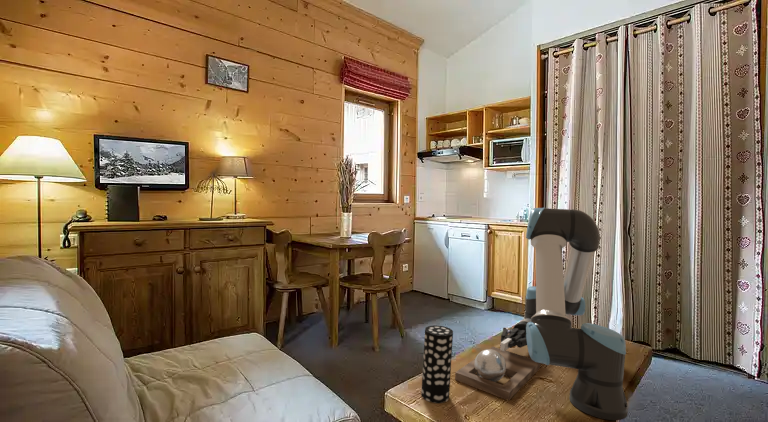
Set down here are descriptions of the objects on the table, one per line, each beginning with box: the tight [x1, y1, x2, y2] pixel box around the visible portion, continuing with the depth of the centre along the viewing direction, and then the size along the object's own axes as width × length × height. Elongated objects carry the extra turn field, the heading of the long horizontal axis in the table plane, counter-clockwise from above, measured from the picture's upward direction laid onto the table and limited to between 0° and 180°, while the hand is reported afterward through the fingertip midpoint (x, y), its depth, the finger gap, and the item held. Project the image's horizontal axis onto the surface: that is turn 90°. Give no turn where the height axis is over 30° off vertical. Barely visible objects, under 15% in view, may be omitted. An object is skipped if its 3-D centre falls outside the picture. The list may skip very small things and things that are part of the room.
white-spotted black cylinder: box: [420, 324, 454, 404], centre depth 114 cm, size 8×8×20 cm
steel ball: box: [474, 348, 506, 383], centre depth 125 cm, size 10×10×10 cm
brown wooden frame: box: [454, 346, 541, 401], centre depth 131 cm, size 30×18×2 cm, turn 141°
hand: (502, 347), depth 133 cm, fingers closed
